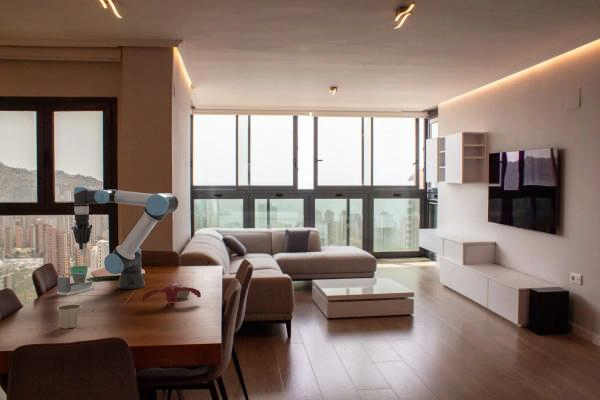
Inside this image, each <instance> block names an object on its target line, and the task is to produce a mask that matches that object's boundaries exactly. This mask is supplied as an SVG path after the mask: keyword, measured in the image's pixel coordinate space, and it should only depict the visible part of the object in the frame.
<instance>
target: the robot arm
mask: <svg viewBox="0 0 600 400" xmlns="http://www.w3.org/2000/svg"><path fill="white" fill-rule="evenodd" d="M73 199H74V205H73V208H74V210H73V211H74V221H75V223H74V226H71V230H72V232H73V236H74V240H75V243H76V244H78V247H79V252H80V253H79V255H80V256H86V255H87V244H88V243H89V242H90V239H91V233H92V228H93V225H92V224H90V221H89V220H90V214H89V213H90V207H89V205H90V204H100V205H101V204H107V203H113V204H122V205H123V204H124V205H130V206H132V205H133V206H139V207H144V208H143V214H142V216H141V217H140V219H139V220H138V221H137V222H136V224H135V226H134V227H133V228H132V229H131V231H130V232H129V234H128V235H127V236H126V238H125V240H124V241H123V242H122V244H121V245H117V246H116V247H115V248H114V250H113V251H112V253H109V254H107V255H106V256H105V258H104V261H103V265H104V268H106V270H107V271H108V272H109V273H111V274H119V273H121V275H119V278H118V283H117V288H118V289H120V290H121V289H122V290H129V289H130V290H131V289H140V288H143V287H145V285H146V282H145V280H144V276H143V274H142V271H141V269H142V249H141V248H140V247H141V245H142V244H143V242H144V241H145V240H146V238H147V237H148V236H149V235H150V233H151V231H152V230H153V229H154V227H155V226H156V225H157V223H158V222H162V221H163V220H164V218H165V217H166V215H167V214H172V213H174V212H175V211H176V210H177V209H178V207H179V200H178V197H177V196H176V194H174V193H171V192H163V193H162V192H161V193H160V192H157V193H146V192H145V193H144V192H137V191H128V190H118V189H112V188H110V189H93V190H90V189H89V187H88V186H75V187H73Z"/></svg>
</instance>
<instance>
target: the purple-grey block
mask: <svg viewBox="0 0 600 400" xmlns="http://www.w3.org/2000/svg"><path fill="white" fill-rule="evenodd" d="M75 282H78V283H75ZM71 283H72V284H70V286H73V285H77V284H82V283H86V279H85V274H81V273H74V280H73V282H71Z"/></svg>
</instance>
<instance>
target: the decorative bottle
mask: <svg viewBox="0 0 600 400" xmlns="http://www.w3.org/2000/svg"><path fill="white" fill-rule="evenodd" d="M168 286H178V287H182V288H183V287H184V288H185V287H186V286H185V285H183V284H182V283H179V282H178V281H172V282H169V283H168V284H167V287H168ZM190 293H191V292H189V291H185V290H184V291H179V292H178V293H177V297H179V298H178V299H180V300H186V298H188V297H189V296H190Z"/></svg>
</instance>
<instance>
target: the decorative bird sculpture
mask: <svg viewBox="0 0 600 400" xmlns="http://www.w3.org/2000/svg"><path fill="white" fill-rule="evenodd" d="M184 290H185V291H189V292H190V293H191V294H193V295H194V296H196V297H197V298H200V299H201V296H202V293H201V291H200V290H198V289H197V288H194V287H188V286H185V288H184V287H183V288H182V287H178V286H168V285H167V286H166V287H163V288H157V289H156V288H155V289H152V290H150V291H147V292H146V293H144V294H143V295H142V302H145V301H147V299H149V298H150V297H151V296H152V295H155V294H157V293H164V294H166V297H165V298H164V299H165V301H167V303H168V307H170V306H171V305H170V303H174V306H177V304H176V302H177V300H178V299H179V297H177V293H178V292H179V291H184Z"/></svg>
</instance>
